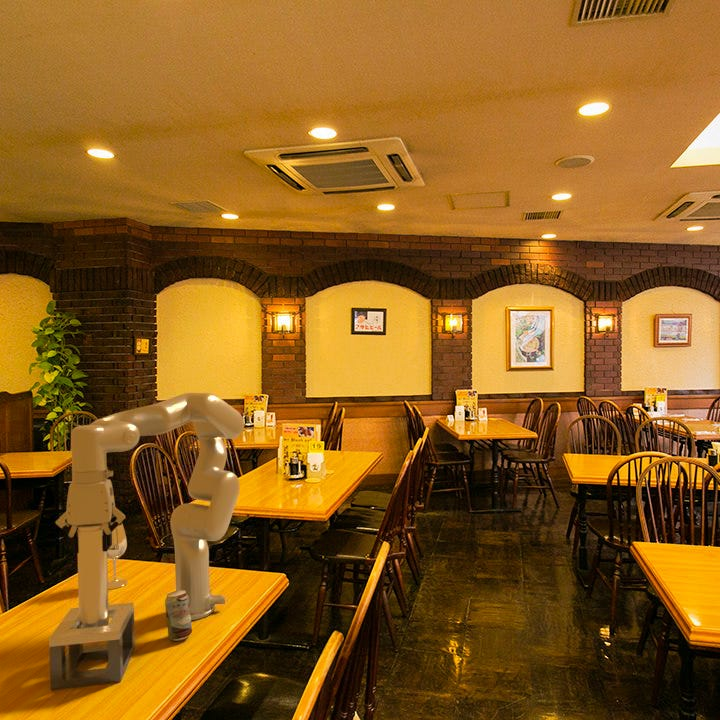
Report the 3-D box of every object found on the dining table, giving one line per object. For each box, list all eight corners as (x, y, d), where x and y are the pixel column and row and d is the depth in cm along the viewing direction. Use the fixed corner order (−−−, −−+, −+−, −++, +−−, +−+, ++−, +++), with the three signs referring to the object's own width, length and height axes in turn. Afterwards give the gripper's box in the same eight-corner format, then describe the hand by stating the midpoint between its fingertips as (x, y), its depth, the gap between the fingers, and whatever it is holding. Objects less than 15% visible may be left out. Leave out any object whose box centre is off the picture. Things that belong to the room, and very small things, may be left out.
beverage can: (179, 646, 145) (177, 600, 145) (160, 639, 149) (159, 594, 148) (197, 635, 150) (196, 591, 150) (179, 628, 154) (178, 585, 154)
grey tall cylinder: (97, 634, 131) (94, 528, 131) (73, 632, 133) (70, 527, 132) (114, 621, 138) (112, 520, 137) (91, 619, 139) (89, 519, 139)
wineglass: (121, 589, 181) (120, 528, 181) (97, 589, 181) (96, 528, 181) (131, 579, 189) (130, 520, 189) (108, 579, 189) (107, 521, 189)
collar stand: (134, 648, 144) (133, 602, 144) (120, 682, 129) (119, 630, 129) (72, 655, 141) (71, 608, 141) (50, 690, 127) (49, 638, 126)
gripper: (131, 471, 140) (133, 542, 140) (56, 475, 137) (58, 548, 137) (123, 477, 132) (126, 553, 133) (45, 482, 129) (47, 559, 130)
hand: (91, 550), depth 135 cm, fingers closed on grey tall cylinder, 6 cm apart
